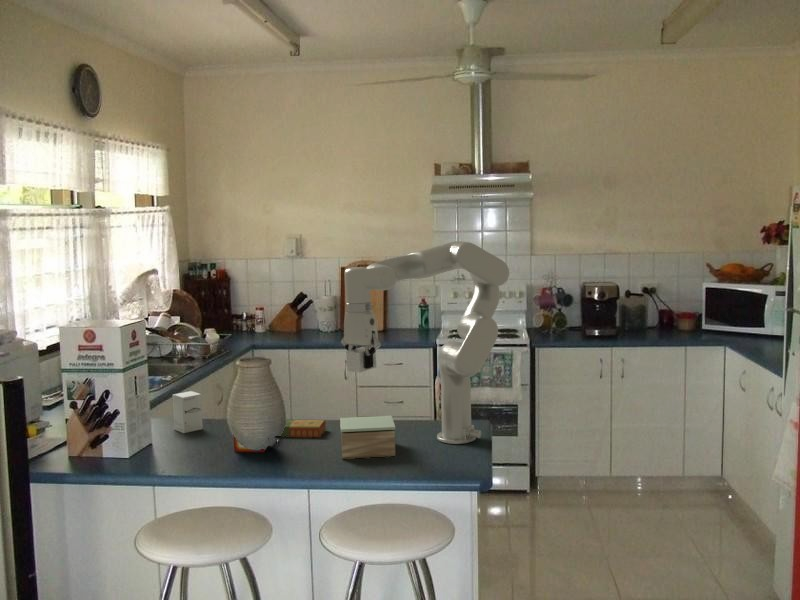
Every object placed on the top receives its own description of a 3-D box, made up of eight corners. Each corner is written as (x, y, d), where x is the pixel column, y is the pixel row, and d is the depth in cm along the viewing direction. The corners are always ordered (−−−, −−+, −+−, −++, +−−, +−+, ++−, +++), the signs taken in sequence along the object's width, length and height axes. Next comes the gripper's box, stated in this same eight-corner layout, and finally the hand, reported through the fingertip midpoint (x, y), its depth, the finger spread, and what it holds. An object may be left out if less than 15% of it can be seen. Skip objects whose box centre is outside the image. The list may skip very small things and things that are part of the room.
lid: (395, 429, 235) (395, 426, 235) (340, 432, 234) (340, 429, 234) (391, 418, 249) (391, 415, 249) (340, 420, 248) (340, 417, 248)
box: (395, 456, 236) (394, 431, 235) (342, 459, 235) (341, 433, 234) (391, 443, 250) (391, 418, 249) (341, 445, 249) (340, 420, 248)
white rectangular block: (376, 367, 241) (375, 347, 240) (360, 372, 234) (359, 352, 234) (363, 365, 244) (362, 346, 243) (347, 371, 237) (346, 351, 237)
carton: (320, 438, 258) (319, 426, 257) (273, 438, 260) (272, 425, 259) (326, 431, 266) (325, 419, 265) (280, 430, 268) (279, 418, 268)
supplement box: (183, 434, 266) (181, 397, 264) (173, 429, 271) (171, 394, 270) (203, 429, 271) (201, 393, 269) (193, 425, 276) (191, 390, 274)
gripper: (388, 307, 235) (391, 367, 237) (344, 305, 245) (347, 362, 247) (373, 311, 229) (376, 372, 231) (329, 308, 239) (332, 367, 241)
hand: (361, 366), depth 239 cm, fingers closed on white rectangular block, 5 cm apart
